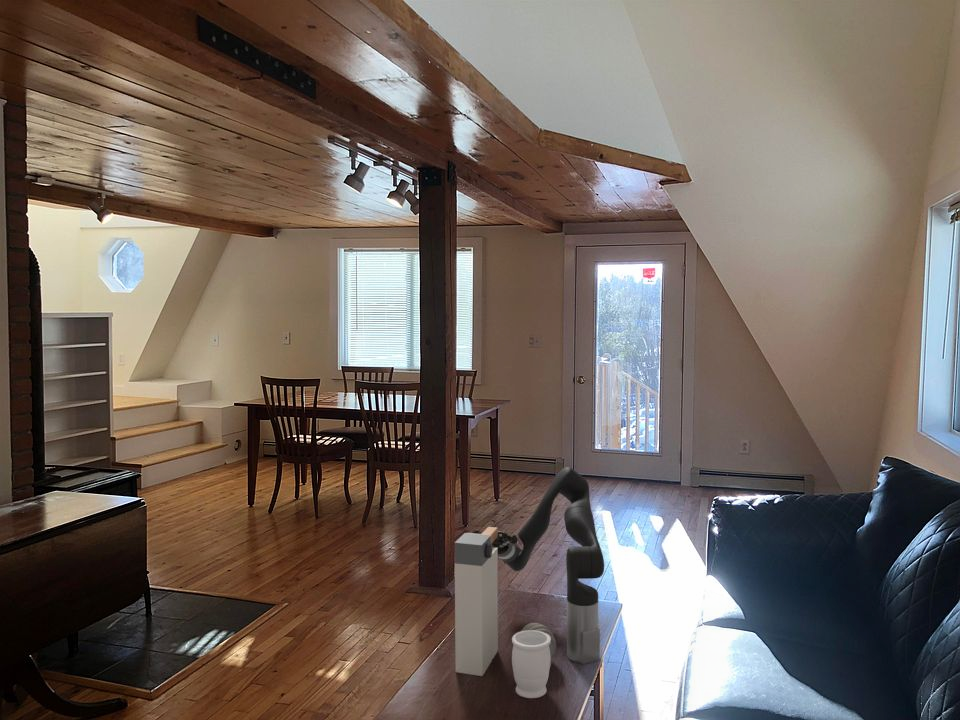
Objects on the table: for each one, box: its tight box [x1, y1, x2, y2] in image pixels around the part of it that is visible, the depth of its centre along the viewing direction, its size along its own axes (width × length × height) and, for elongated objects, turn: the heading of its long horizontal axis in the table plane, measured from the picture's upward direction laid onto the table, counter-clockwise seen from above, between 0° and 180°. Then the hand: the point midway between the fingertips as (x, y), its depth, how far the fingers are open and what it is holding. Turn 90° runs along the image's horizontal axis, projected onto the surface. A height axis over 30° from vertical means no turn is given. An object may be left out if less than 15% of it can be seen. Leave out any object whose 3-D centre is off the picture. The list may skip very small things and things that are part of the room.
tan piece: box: [469, 526, 499, 544], centre depth 233 cm, size 16×8×5 cm, turn 163°
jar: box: [511, 630, 552, 699], centre depth 210 cm, size 11×10×15 cm
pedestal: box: [454, 532, 499, 677], centre depth 226 cm, size 16×9×38 cm, turn 163°
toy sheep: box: [520, 622, 557, 668], centre depth 226 cm, size 11×17×11 cm, turn 24°
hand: (489, 534), depth 237 cm, fingers open, 8 cm apart
